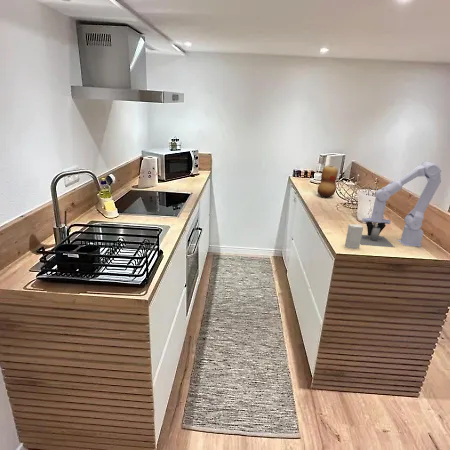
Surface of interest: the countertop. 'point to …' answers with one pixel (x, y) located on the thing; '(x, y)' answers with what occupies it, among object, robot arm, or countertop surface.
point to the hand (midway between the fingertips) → (373, 235)
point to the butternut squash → (328, 181)
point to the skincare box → (353, 236)
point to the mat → (381, 241)
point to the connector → (374, 233)
